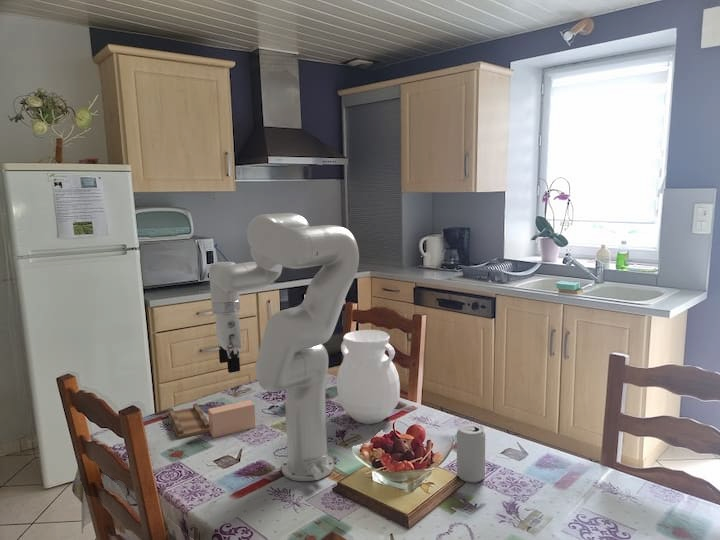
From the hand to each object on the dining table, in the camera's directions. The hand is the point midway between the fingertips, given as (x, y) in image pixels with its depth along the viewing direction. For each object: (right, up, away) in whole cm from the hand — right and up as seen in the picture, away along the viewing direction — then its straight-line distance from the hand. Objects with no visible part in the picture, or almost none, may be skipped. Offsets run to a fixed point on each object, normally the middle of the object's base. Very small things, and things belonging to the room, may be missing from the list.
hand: (229, 366), depth 149 cm
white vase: (+39, -17, +8) cm, 43 cm away
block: (0, -18, +2) cm, 19 cm away
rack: (-14, -18, +7) cm, 24 cm away
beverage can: (+62, -21, -26) cm, 70 cm away
